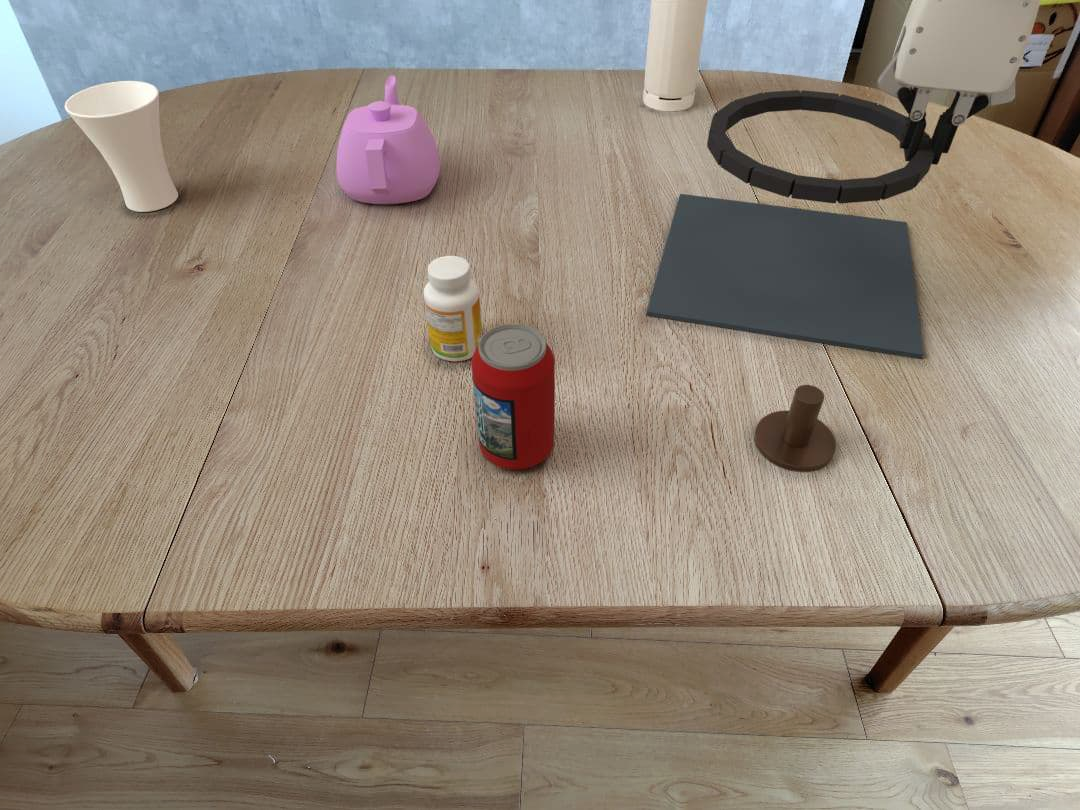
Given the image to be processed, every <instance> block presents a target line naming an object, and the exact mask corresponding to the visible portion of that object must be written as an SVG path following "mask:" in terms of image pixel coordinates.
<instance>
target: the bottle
mask: <svg viewBox="0 0 1080 810" xmlns="http://www.w3.org/2000/svg"><path fill="white" fill-rule="evenodd" d="M707 7H708V0H650V11H649V24H648V34H647V46H646V56H645V70H644V78H643V79H644V80H643V85H644V87H643V92H642V103H643V104H644V105H645V106H646V107H648V108H650V109H652V110H655V111H662V112H681V111H685V110H688V109H689V108H691V107H692V106H693V105H694V103H695V96H696V92H695V90H696V87H697V80H698V73H699V65H700V58H701V52H702V51H701V50H702V44H703V42H702V41H703V37H704V28H705V20H706V14H707ZM661 98H662V99H661ZM668 99H669V100H668ZM672 99H675V100H672Z"/></svg>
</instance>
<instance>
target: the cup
mask: <svg viewBox="0 0 1080 810" xmlns="http://www.w3.org/2000/svg"><path fill="white" fill-rule="evenodd" d="M159 92H160V91H159V90H158V88H157V87H156V86H155V85H153V84H151V83H149V82H145V81H138V80H120V81H112V82H111V81H110V82H105V83H102V84H100V83H99V84H95V85H93V86H89V87H86V88H84V89H82V90H80V91H77V92H76V93H74V94H73V95H71V96H70V97H68V99H66V100H65V103H64V109H65V111H66V113H67V114H68V115H69V116H70V117H71V118H72V120H73V121H74V123H76V124H77V126H78V127H79V128H80V129H81V130H82V132H84V134H85V135H86V137H88V139H89V140H90V141H91V142H92V144H93V145H94V146H95V147H96V149H97V150H98V151H99V152H100V154H101V156H102V157H103V158H104V161H105V162H106V163H107V165H108V166H109V168H110V169H111V171H112V173H113V174H114V177H115V179H116V181H117V183H118V185H119V188H120V190H121V194H122V197H123V200H124V202H125V206H126V208H127V209H129V210H130V211H133V212H140V213H147V212H148V213H149V212H154V211H158V210H161V209H164V208H167V207H169V206H170V205H172V204H173V203H175V202H176V201H177V199H178V198H179V192H178V190H177V188H176V186H175V184H174V183H173V180H172V178H171V176H170V173H169V170H168V169H169V168H168V166H167V163H166V159H165V156H164V150H163V144H162V138H161V124H160V123H161V122H160V95H159V94H160V93H159Z"/></svg>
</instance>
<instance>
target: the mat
mask: <svg viewBox="0 0 1080 810" xmlns="http://www.w3.org/2000/svg"><path fill="white" fill-rule="evenodd" d="M908 229H909V228H908V222H907V221H901V220H895V219H894V220H893V219H885V218H877V217H869V216H861V215H853V214H845V213H838V212H831V211H829V212H828V211H821V210H814V209H813V210H812V209H805V208H798V207H789V206H781V205H773V204H766V203H757V202H750V201H741V200H734V199H725V198H719V197H718V198H717V197H710V196H703V195H694V194H686V193H679V196H678V200H677V203H676V207H675V211H674V214H673V218H672V221H671V225H670V228H669V231H668V235H667V239H666V242H665V246H664V249H663V252H662V257H661V259H660V262H659V266H658V270H657V274H656V278H655V281H654V284H653V287H652V290H651V291H652V292H651V295H650V298H649V302H648V305H647V309H646V314H645V315H646V316H648V317H653V318H659V319H667V320H672V321H680V322H686V323H693V324H698V325H704V326H705V325H706V326H711V327H717V328H723V329H730V330H736V331H742V332H750V333H755V334H762V335H769V336H775V337H781V338H787V339H793V340H800V341H807V342H812V343H819V344H825V345H831V346H838V347H845V348H849V349H850V348H851V349H857V350H862V351H869V352H877V353H882V354H889V355H896V356H901V357H907V358H912V359H913V358H914V359H920V360H922V359H923V357H924V355H925V353H924V346H923V345H924V344H923V339H922V330H921V322H920V315H919V307H918V298H917V291H916V283H915V276H914V270H913V269H914V267H913V261H912V252H911V244H910V237H909V230H908Z"/></svg>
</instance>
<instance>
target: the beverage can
mask: <svg viewBox="0 0 1080 810" xmlns="http://www.w3.org/2000/svg"><path fill="white" fill-rule="evenodd" d="M482 335H483V336H482V337H481V339H480V341H479V345H478V347H477V349H476V350H475V352H474V354H473V357H471V360H470V361H471V375H472V385H473V397H474V399H473V400H474V409H475V420H476V428H477V436H478V446H479V450H480V452H481V454H482V456H483V457H484V458H485V459H486V460H487V461H488V462H490V463H491V464H492V465H495V466H497V467H499V468H502V469H507V470H524V469H529V468H533V467H534V466H537V465H539V464H540V463H542V462H543V461H544V460H546V459H547V458H548V457H549V455H550V454H551V453H552V451H553V448H554V445H555V420H556V419H555V415H556V414H555V406H556V391H555V390H556V383H555V382H556V377H555V376H556V372H555V371H556V369H555V368H556V366H555V365H556V363H555V362H556V360H555V354H554V352H553V350H552V348H550V346H549V344H548V343H547V341H546V339H545V337H544V335H543V333H542V332H540V331H539V330H538V329H536V328H535V327H533V326H529V325H526V324H523V323H522V324H521V323H505V324H501V325H497V326H494V327H492V328H490V329H489V330H487V331H486V332H484V334H482Z"/></svg>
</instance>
